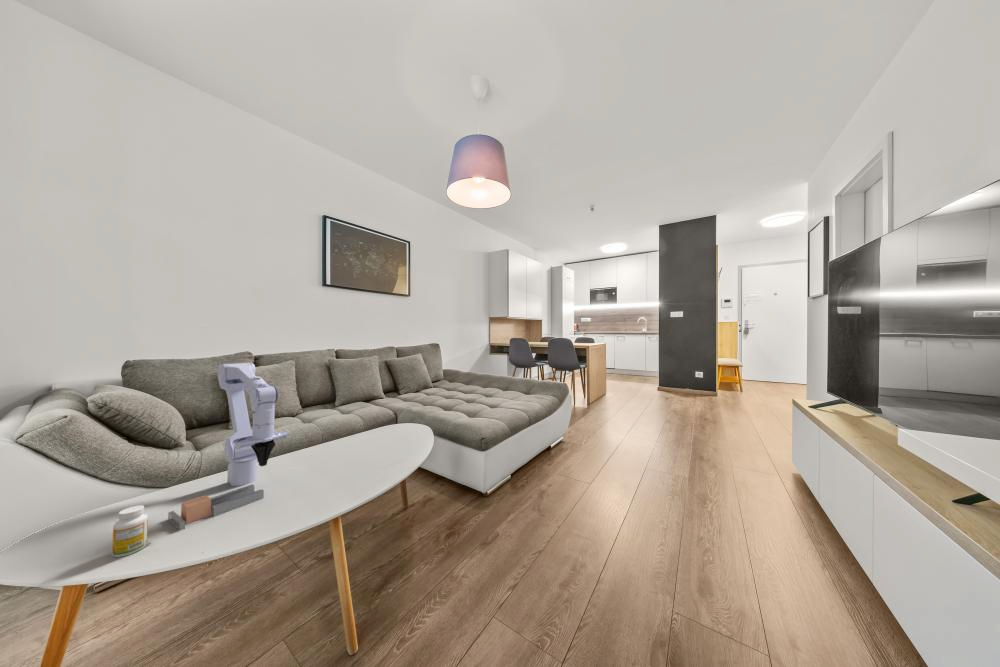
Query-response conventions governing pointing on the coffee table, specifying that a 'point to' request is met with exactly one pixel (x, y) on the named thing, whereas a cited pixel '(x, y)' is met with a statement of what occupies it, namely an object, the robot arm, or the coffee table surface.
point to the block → (195, 508)
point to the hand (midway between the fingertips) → (262, 465)
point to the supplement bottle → (130, 531)
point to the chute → (224, 503)
